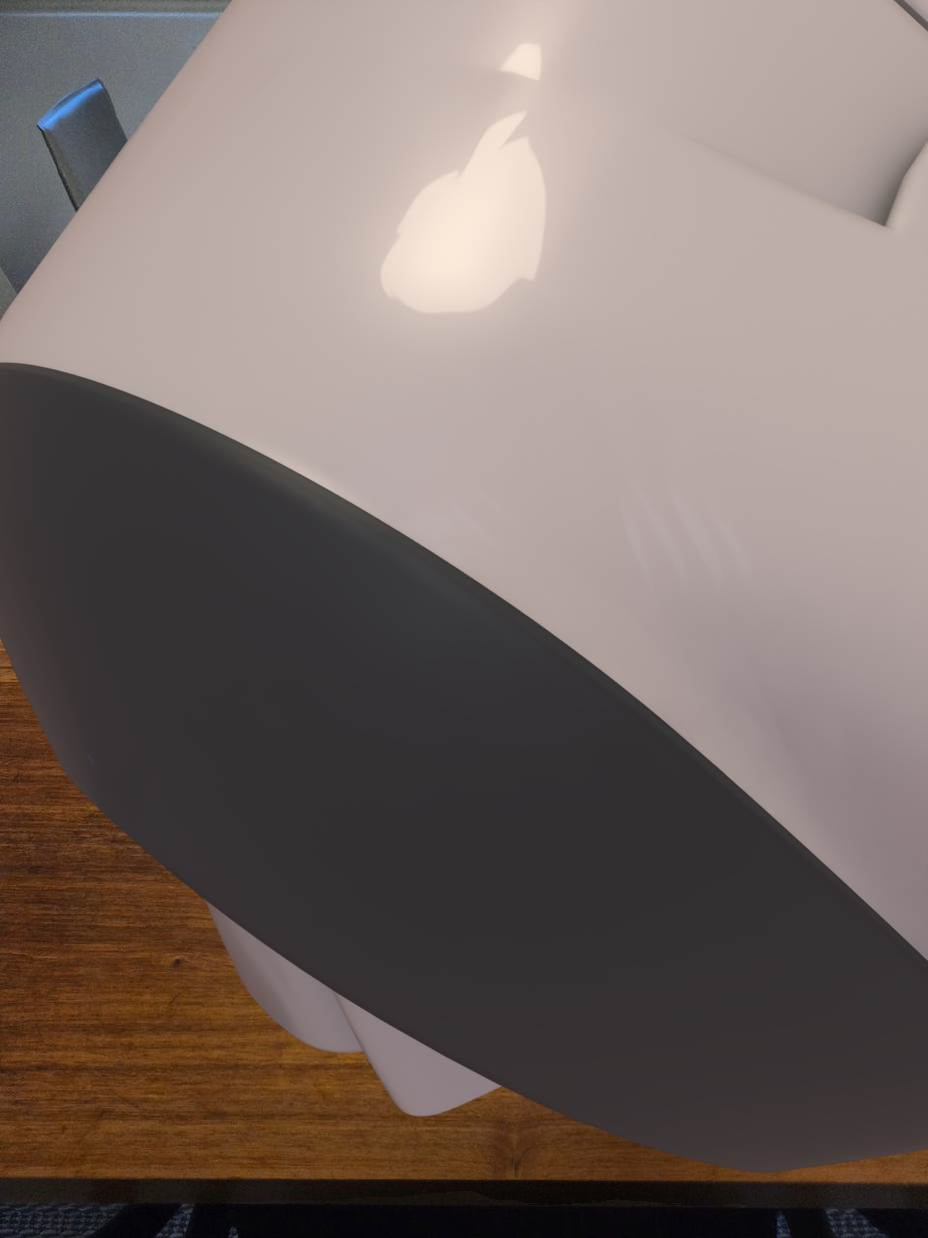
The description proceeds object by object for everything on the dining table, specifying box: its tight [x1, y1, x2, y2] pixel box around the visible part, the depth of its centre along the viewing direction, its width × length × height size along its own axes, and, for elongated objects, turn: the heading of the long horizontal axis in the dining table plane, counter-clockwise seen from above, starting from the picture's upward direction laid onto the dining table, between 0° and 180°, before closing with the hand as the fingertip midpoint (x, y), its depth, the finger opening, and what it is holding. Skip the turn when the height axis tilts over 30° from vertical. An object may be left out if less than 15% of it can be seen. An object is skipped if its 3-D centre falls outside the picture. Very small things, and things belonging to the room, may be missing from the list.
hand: (458, 758), depth 32 cm, fingers open, 7 cm apart
